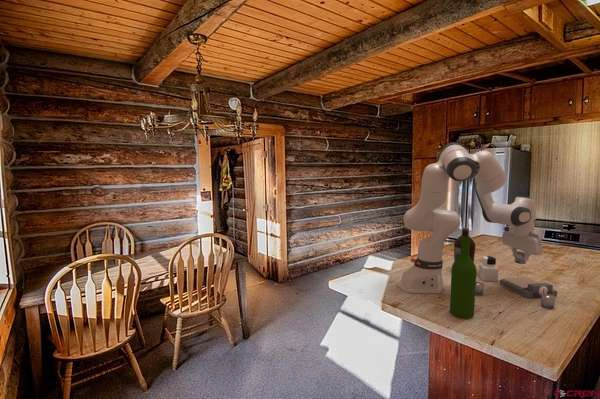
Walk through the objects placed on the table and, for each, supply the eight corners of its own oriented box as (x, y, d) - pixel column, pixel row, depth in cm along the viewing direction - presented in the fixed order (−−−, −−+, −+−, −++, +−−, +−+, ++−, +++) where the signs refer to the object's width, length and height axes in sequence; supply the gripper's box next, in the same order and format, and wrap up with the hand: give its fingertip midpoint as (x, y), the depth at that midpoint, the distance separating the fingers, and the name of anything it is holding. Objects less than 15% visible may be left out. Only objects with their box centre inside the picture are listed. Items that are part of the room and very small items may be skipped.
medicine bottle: (493, 277, 171) (494, 255, 169) (497, 282, 164) (499, 259, 163) (478, 276, 173) (479, 254, 171) (482, 280, 166) (483, 258, 165)
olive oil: (463, 267, 186) (465, 225, 183) (478, 273, 176) (481, 229, 173) (448, 269, 183) (450, 227, 180) (463, 276, 173) (465, 231, 170)
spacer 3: (547, 309, 134) (548, 298, 133) (538, 304, 138) (539, 293, 138) (556, 308, 134) (557, 297, 134) (547, 304, 139) (548, 293, 138)
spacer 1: (475, 295, 148) (476, 285, 148) (470, 291, 152) (471, 281, 152) (485, 295, 148) (485, 285, 148) (479, 291, 153) (480, 281, 152)
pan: (522, 289, 148) (522, 287, 148) (503, 279, 160) (503, 278, 160) (547, 287, 150) (547, 286, 150) (526, 278, 162) (526, 276, 162)
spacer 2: (528, 263, 151) (529, 253, 150) (519, 264, 150) (520, 254, 150) (520, 260, 155) (521, 250, 155) (512, 261, 155) (512, 251, 154)
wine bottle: (466, 308, 136) (470, 233, 132) (478, 318, 127) (483, 239, 123) (445, 308, 135) (449, 234, 131) (456, 319, 126) (460, 239, 122)
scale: (528, 298, 144) (529, 287, 143) (499, 284, 161) (500, 273, 160) (557, 296, 146) (558, 285, 145) (525, 282, 163) (526, 272, 163)
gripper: (548, 235, 141) (545, 265, 143) (512, 225, 161) (510, 252, 163) (535, 236, 140) (532, 266, 142) (500, 226, 160) (498, 252, 162)
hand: (520, 258), depth 153 cm, fingers closed on spacer 2, 4 cm apart
